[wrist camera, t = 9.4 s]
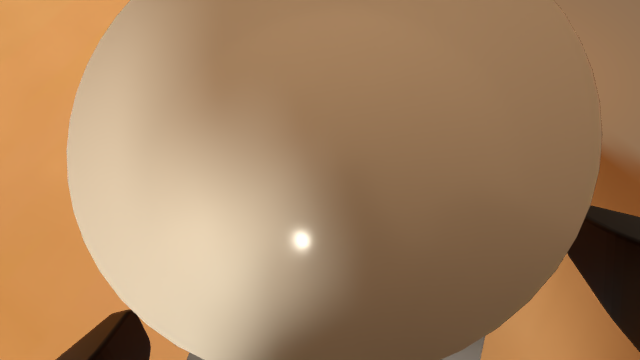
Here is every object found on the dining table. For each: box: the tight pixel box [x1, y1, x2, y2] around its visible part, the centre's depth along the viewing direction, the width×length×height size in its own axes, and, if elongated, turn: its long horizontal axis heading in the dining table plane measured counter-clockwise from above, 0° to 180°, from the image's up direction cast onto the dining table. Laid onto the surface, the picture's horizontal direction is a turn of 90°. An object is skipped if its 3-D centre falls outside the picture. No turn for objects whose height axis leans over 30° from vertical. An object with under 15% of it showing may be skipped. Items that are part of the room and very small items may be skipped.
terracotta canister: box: [67, 0, 602, 360], centre depth 11 cm, size 6×6×13 cm
